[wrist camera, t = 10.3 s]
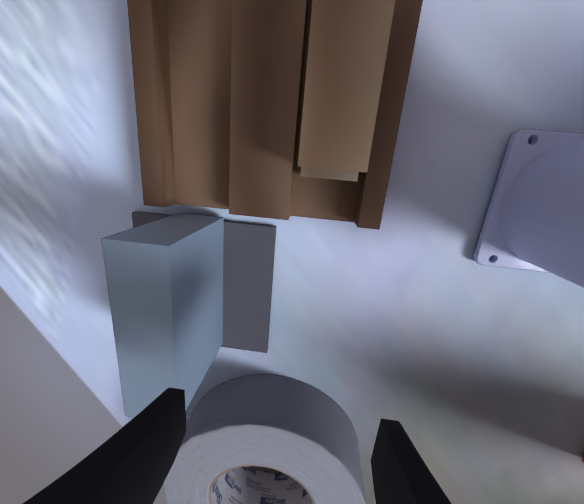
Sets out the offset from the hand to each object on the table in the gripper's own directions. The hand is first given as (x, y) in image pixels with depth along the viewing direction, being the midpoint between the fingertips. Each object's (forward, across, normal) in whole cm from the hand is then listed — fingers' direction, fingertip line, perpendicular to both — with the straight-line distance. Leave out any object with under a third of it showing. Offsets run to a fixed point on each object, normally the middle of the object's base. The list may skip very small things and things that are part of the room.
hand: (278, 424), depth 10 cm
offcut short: (+7, -1, -12) cm, 14 cm away
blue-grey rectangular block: (+10, +7, 0) cm, 12 cm away
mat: (+10, +7, 0) cm, 13 cm away
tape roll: (+11, +1, +15) cm, 19 cm away
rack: (+10, +3, -13) cm, 17 cm away
